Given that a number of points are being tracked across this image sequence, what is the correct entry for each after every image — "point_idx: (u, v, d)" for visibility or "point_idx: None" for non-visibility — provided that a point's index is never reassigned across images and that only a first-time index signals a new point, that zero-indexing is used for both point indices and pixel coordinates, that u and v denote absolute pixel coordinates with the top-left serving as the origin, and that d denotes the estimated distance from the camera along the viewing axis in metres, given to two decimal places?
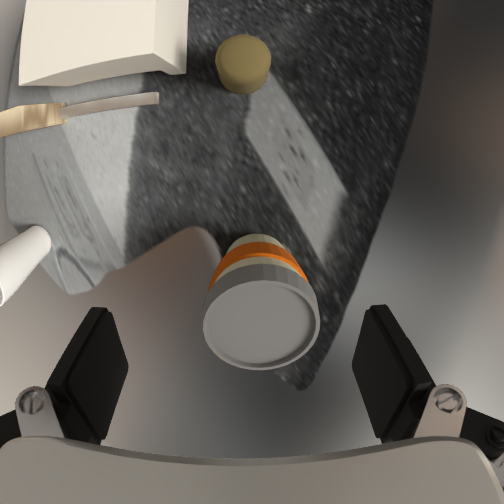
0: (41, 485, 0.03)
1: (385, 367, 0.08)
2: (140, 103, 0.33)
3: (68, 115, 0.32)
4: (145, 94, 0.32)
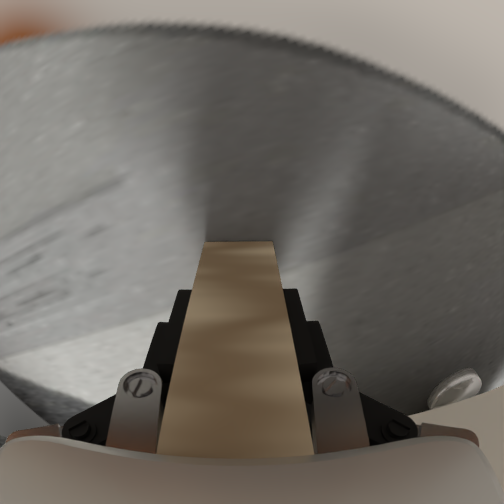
0: (41, 485, 0.03)
1: None
2: None
3: None
4: None
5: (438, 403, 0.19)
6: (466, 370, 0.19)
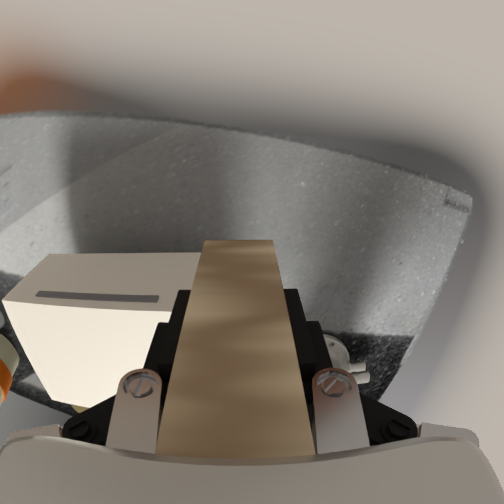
0: (41, 485, 0.03)
1: None
2: None
3: None
4: None
5: None
6: None
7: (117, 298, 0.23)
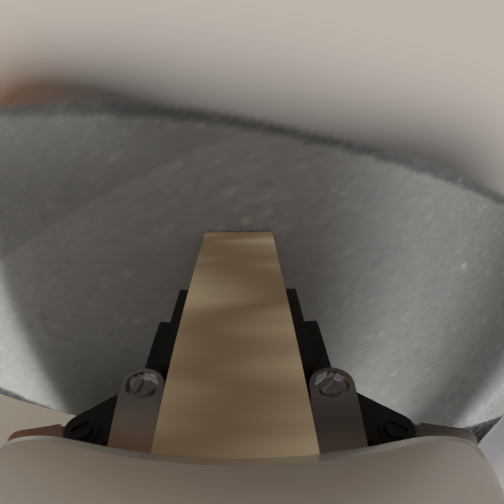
0: (41, 485, 0.03)
1: None
2: None
3: None
4: None
5: None
6: None
7: None
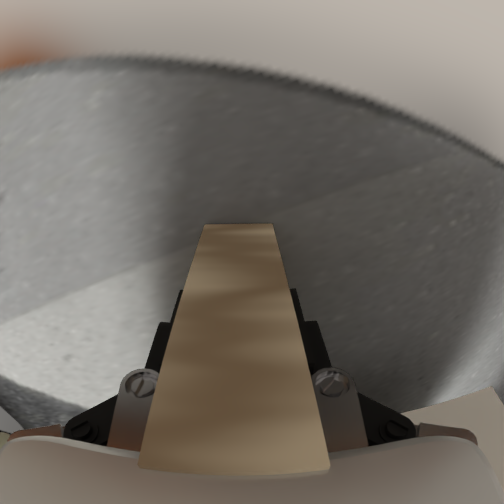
0: (41, 485, 0.03)
1: None
2: None
3: None
4: None
5: None
6: None
7: None
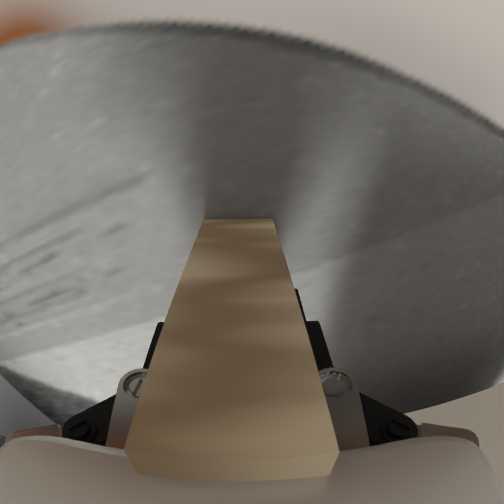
0: (41, 485, 0.03)
1: None
2: None
3: None
4: None
5: None
6: None
7: None
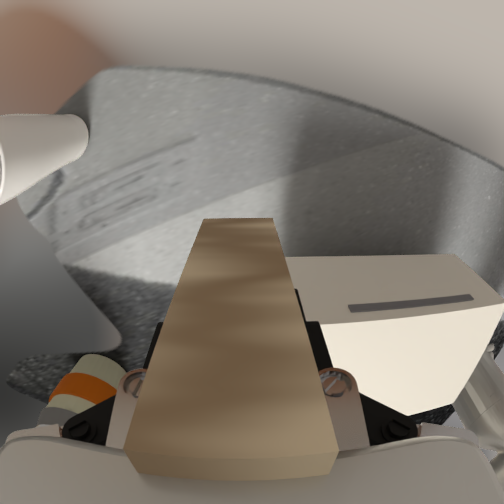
0: (41, 485, 0.03)
1: None
2: None
3: None
4: None
5: None
6: None
7: (445, 301, 0.21)
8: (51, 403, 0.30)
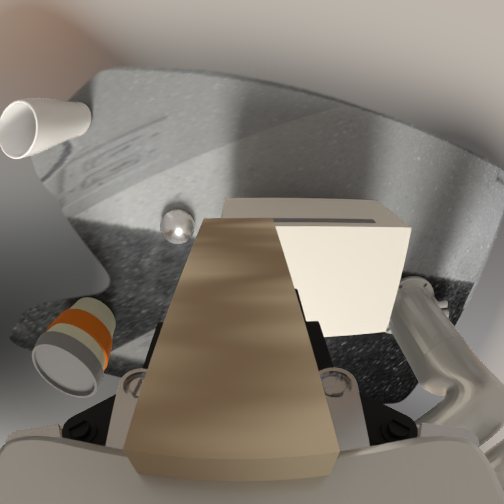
0: (41, 485, 0.03)
1: None
2: None
3: None
4: None
5: (161, 225, 0.44)
6: (178, 209, 0.44)
7: (345, 220, 0.31)
8: (47, 331, 0.40)
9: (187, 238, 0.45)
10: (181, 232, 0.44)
